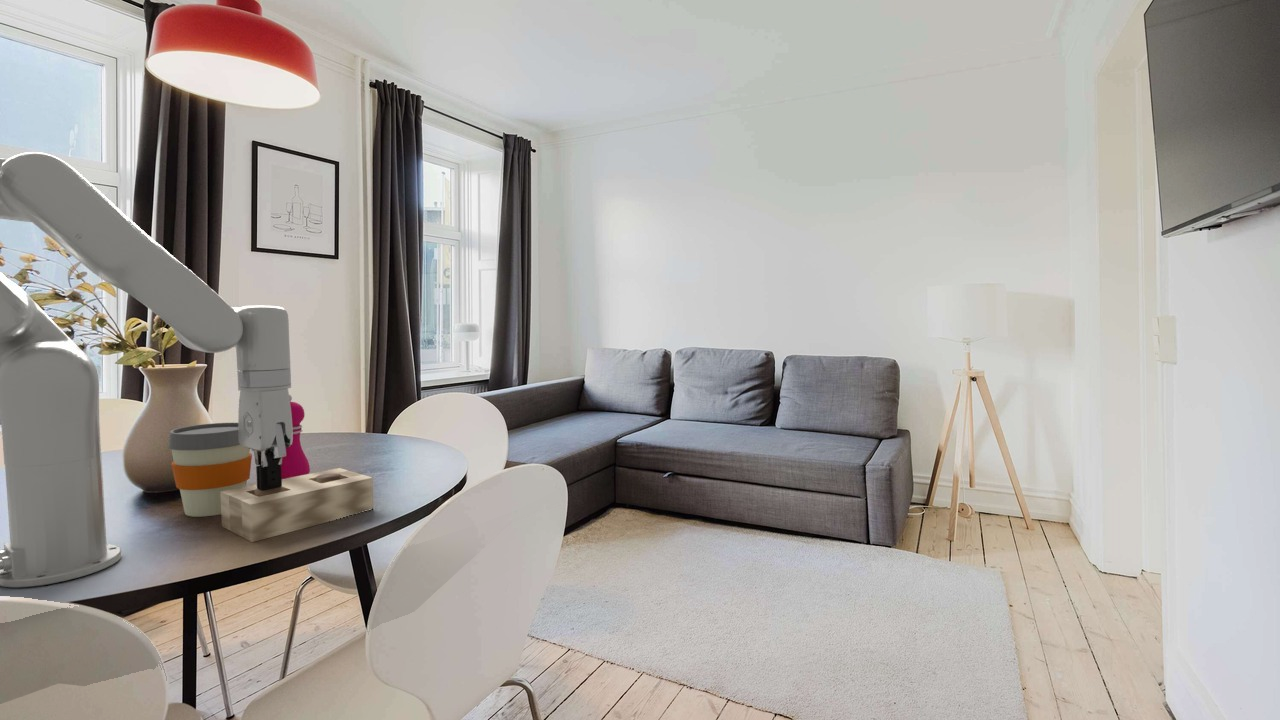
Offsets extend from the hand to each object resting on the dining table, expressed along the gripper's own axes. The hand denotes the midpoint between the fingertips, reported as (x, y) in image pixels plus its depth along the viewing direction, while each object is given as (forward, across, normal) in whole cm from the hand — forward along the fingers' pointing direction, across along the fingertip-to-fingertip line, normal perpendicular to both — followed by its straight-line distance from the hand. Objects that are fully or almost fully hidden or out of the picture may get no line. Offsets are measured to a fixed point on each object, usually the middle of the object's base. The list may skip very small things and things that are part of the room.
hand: (269, 488), depth 101 cm
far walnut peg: (+6, 0, +10) cm, 12 cm away
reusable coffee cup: (+7, -18, -2) cm, 19 cm away
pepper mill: (+7, -18, +11) cm, 22 cm away
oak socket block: (+6, 0, +5) cm, 8 cm away
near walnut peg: (+6, 0, 0) cm, 6 cm away
